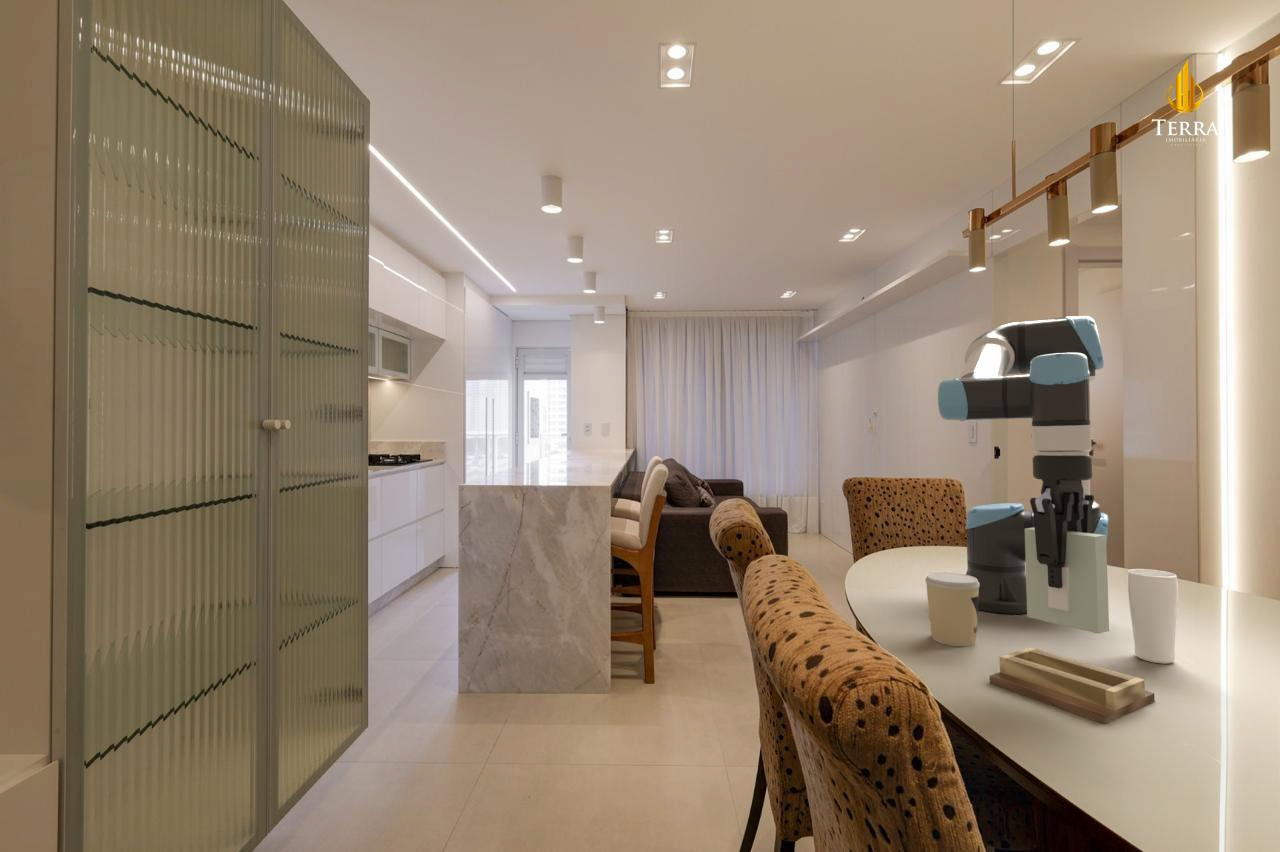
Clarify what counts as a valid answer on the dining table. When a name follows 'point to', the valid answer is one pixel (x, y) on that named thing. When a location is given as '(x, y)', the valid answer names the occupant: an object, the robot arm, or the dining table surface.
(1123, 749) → the dining table surface
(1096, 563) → the door panel
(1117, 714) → the track board
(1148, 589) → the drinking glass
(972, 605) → the coffee cup
